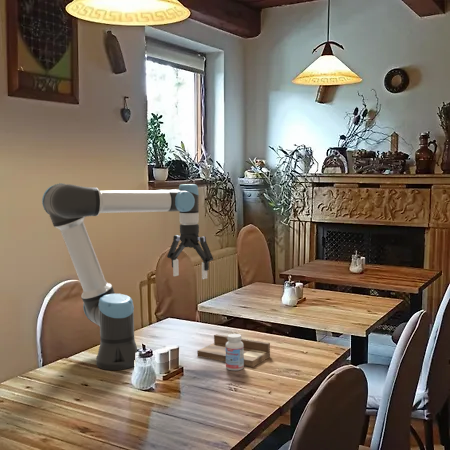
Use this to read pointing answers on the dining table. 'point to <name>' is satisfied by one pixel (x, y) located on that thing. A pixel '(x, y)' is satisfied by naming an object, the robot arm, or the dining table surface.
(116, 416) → the dining table surface
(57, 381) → the dining table surface
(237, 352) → the pill bottle
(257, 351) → the wooden stand
